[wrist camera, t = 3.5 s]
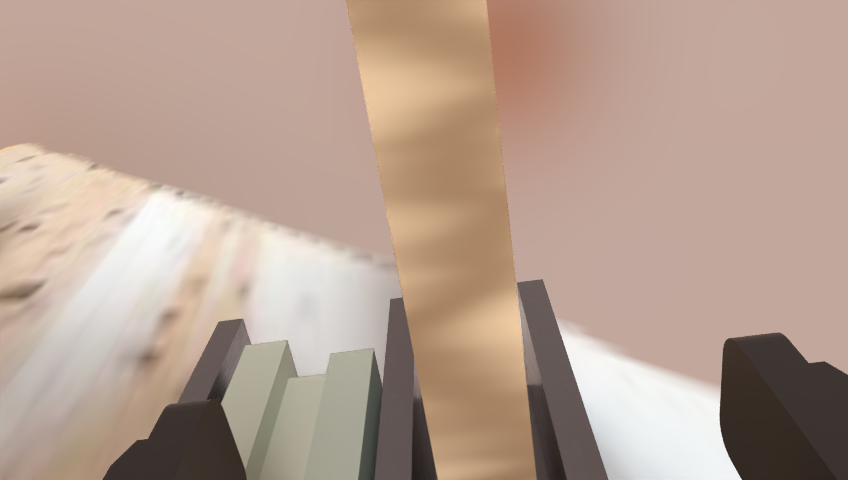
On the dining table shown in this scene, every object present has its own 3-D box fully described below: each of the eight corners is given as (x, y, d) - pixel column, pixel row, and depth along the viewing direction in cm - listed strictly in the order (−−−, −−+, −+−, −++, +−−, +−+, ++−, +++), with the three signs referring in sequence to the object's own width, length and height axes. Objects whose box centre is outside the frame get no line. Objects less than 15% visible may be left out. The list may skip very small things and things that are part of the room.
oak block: (463, 615, 19) (310, -189, 11) (455, 463, 25) (347, -153, 16) (550, 606, 19) (463, -217, 11) (522, 455, 25) (450, -171, 16)
